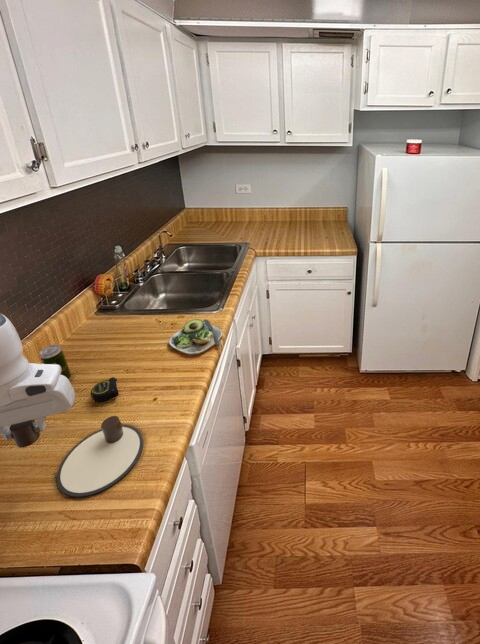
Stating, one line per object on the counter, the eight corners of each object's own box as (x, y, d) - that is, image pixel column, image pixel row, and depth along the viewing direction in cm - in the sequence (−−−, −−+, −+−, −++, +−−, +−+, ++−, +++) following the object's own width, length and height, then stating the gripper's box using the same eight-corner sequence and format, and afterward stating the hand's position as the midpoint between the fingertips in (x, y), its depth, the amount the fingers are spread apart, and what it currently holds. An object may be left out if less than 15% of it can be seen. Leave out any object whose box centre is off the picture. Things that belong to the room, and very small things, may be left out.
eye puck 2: (104, 445, 84) (99, 431, 82) (107, 432, 87) (102, 418, 85) (122, 440, 85) (117, 426, 83) (124, 427, 88) (120, 413, 86)
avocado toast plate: (236, 336, 125) (235, 326, 123) (199, 364, 111) (197, 353, 109) (201, 320, 135) (200, 311, 133) (162, 345, 120) (160, 334, 119)
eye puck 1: (13, 450, 71) (6, 433, 69) (21, 434, 75) (14, 418, 73) (36, 444, 72) (29, 427, 71) (42, 429, 76) (36, 413, 74)
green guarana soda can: (56, 375, 107) (45, 345, 102) (75, 373, 108) (64, 343, 103) (47, 388, 102) (34, 356, 97) (66, 385, 103) (54, 354, 98)
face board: (45, 511, 70) (44, 509, 70) (69, 439, 86) (68, 437, 86) (139, 479, 76) (139, 477, 76) (145, 417, 92) (145, 415, 92)
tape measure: (120, 398, 98) (117, 389, 97) (93, 409, 94) (89, 399, 93) (118, 384, 103) (115, 374, 102) (92, 393, 100) (89, 384, 98)
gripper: (-72, 411, 61) (-44, 462, 67) (60, 382, 69) (76, 430, 74) (-52, 387, 67) (-27, 436, 72) (68, 362, 74) (83, 408, 79)
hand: (26, 433), depth 73 cm, fingers closed on eye puck 1, 4 cm apart
